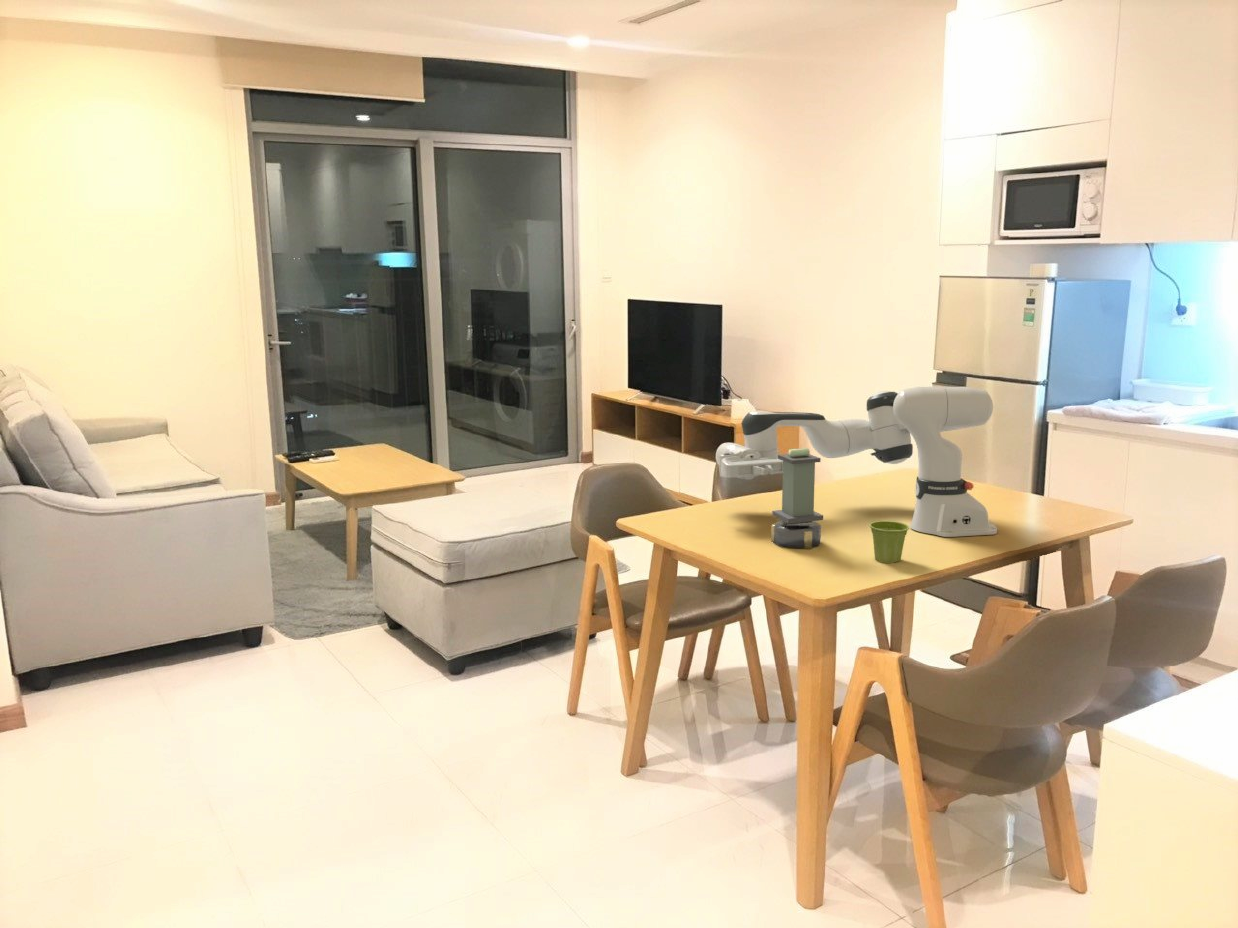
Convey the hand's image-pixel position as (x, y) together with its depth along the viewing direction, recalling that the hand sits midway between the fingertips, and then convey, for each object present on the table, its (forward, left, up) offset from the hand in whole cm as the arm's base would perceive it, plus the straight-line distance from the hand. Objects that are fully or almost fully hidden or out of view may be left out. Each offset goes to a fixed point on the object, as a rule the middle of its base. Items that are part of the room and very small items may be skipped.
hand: (768, 472), depth 273 cm
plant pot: (-26, +32, -16) cm, 44 cm away
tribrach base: (-6, +16, -16) cm, 23 cm away
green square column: (-6, +16, -10) cm, 20 cm away
